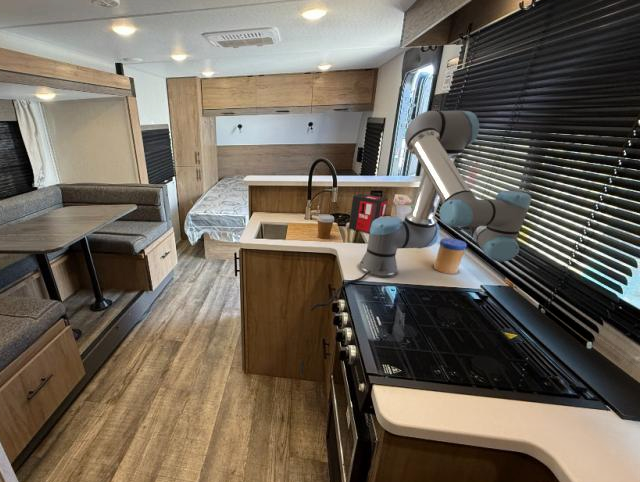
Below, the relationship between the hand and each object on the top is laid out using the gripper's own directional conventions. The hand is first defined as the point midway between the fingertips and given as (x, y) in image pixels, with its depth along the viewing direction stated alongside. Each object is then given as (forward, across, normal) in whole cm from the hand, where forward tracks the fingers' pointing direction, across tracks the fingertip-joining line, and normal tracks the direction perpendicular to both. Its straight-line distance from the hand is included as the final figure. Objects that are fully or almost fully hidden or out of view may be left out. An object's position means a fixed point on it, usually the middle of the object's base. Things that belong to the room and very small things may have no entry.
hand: (469, 215), depth 118 cm
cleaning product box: (+52, -35, -28) cm, 69 cm away
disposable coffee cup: (+31, -56, -28) cm, 70 cm away
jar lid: (+9, 0, -15) cm, 18 cm away
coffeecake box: (+61, -17, -28) cm, 70 cm away
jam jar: (+9, 0, -28) cm, 29 cm away
